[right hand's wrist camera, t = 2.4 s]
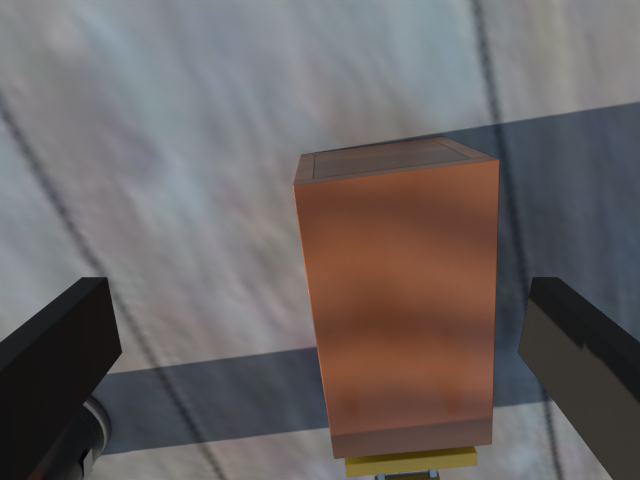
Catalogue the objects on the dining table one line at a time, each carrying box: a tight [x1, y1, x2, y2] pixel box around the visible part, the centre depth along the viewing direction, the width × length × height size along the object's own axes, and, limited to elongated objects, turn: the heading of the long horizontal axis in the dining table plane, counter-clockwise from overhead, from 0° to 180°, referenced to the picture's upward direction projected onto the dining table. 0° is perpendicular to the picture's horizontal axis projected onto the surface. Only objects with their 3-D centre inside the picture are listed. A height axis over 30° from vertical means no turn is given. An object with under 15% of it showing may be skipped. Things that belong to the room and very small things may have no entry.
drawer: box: [345, 446, 477, 480], centre depth 31 cm, size 23×9×8 cm, turn 7°
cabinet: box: [292, 137, 500, 459], centre depth 28 cm, size 19×10×10 cm, turn 7°
